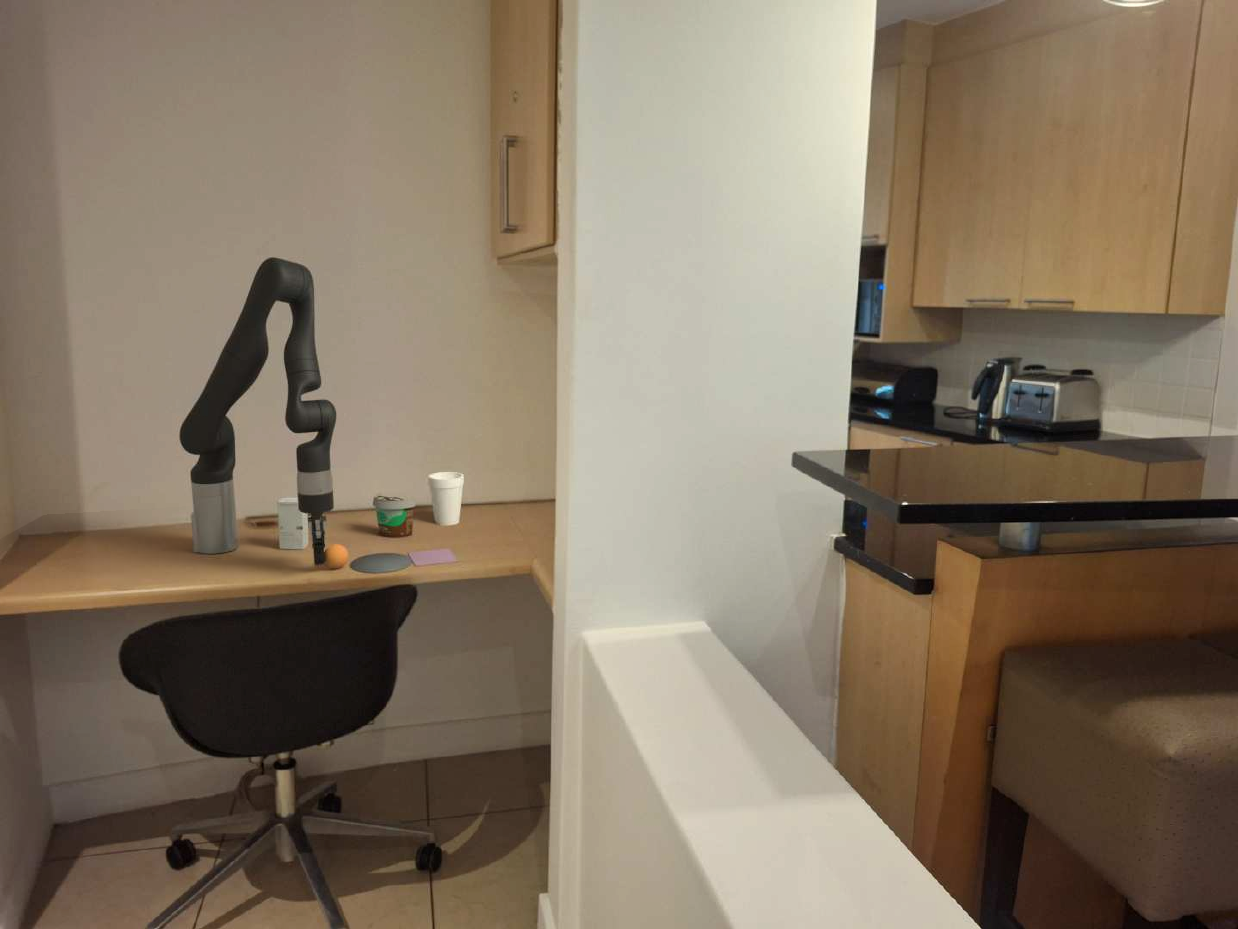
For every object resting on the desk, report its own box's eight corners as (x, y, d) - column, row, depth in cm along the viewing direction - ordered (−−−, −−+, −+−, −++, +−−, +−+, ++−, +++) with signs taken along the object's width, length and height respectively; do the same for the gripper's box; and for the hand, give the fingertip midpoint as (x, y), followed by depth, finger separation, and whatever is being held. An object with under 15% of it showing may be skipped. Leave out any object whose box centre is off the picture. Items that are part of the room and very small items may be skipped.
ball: (317, 560, 200) (332, 541, 201) (319, 557, 205) (334, 538, 206) (337, 574, 201) (352, 555, 202) (338, 571, 206) (353, 552, 207)
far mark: (415, 566, 206) (415, 565, 206) (408, 553, 215) (408, 552, 215) (458, 561, 210) (458, 560, 210) (449, 549, 219) (449, 548, 219)
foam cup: (431, 517, 246) (430, 471, 243) (465, 517, 247) (464, 471, 244) (428, 527, 237) (426, 480, 234) (463, 526, 238) (462, 479, 235)
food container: (363, 534, 229) (361, 497, 227) (380, 528, 235) (378, 492, 233) (400, 542, 224) (399, 503, 222) (416, 535, 229) (415, 498, 227)
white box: (279, 549, 216) (275, 501, 214) (285, 544, 221) (281, 496, 218) (304, 549, 216) (301, 501, 214) (310, 544, 221) (307, 497, 218)
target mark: (354, 576, 199) (354, 575, 199) (347, 557, 211) (347, 556, 211) (417, 569, 204) (417, 568, 204) (406, 551, 217) (406, 550, 217)
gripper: (334, 495, 193) (338, 571, 196) (331, 481, 205) (335, 553, 208) (297, 497, 190) (302, 574, 194) (296, 483, 202) (301, 556, 206)
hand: (319, 563), depth 201 cm, fingers closed
